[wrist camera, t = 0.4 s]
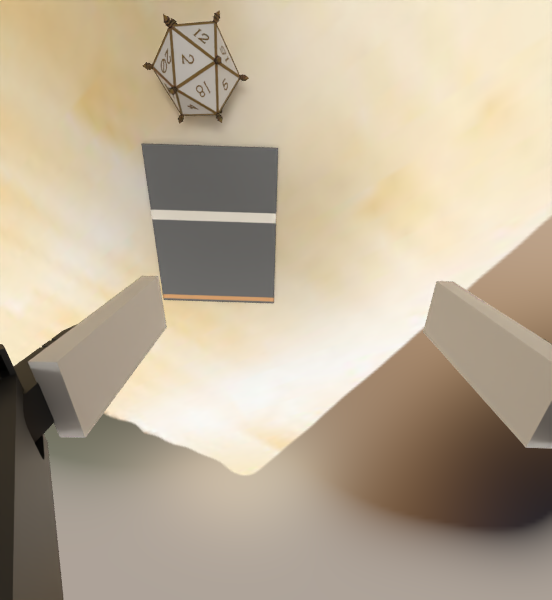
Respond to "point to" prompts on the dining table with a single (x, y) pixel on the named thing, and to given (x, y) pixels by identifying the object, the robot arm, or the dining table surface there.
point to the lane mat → (214, 220)
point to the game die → (196, 67)
